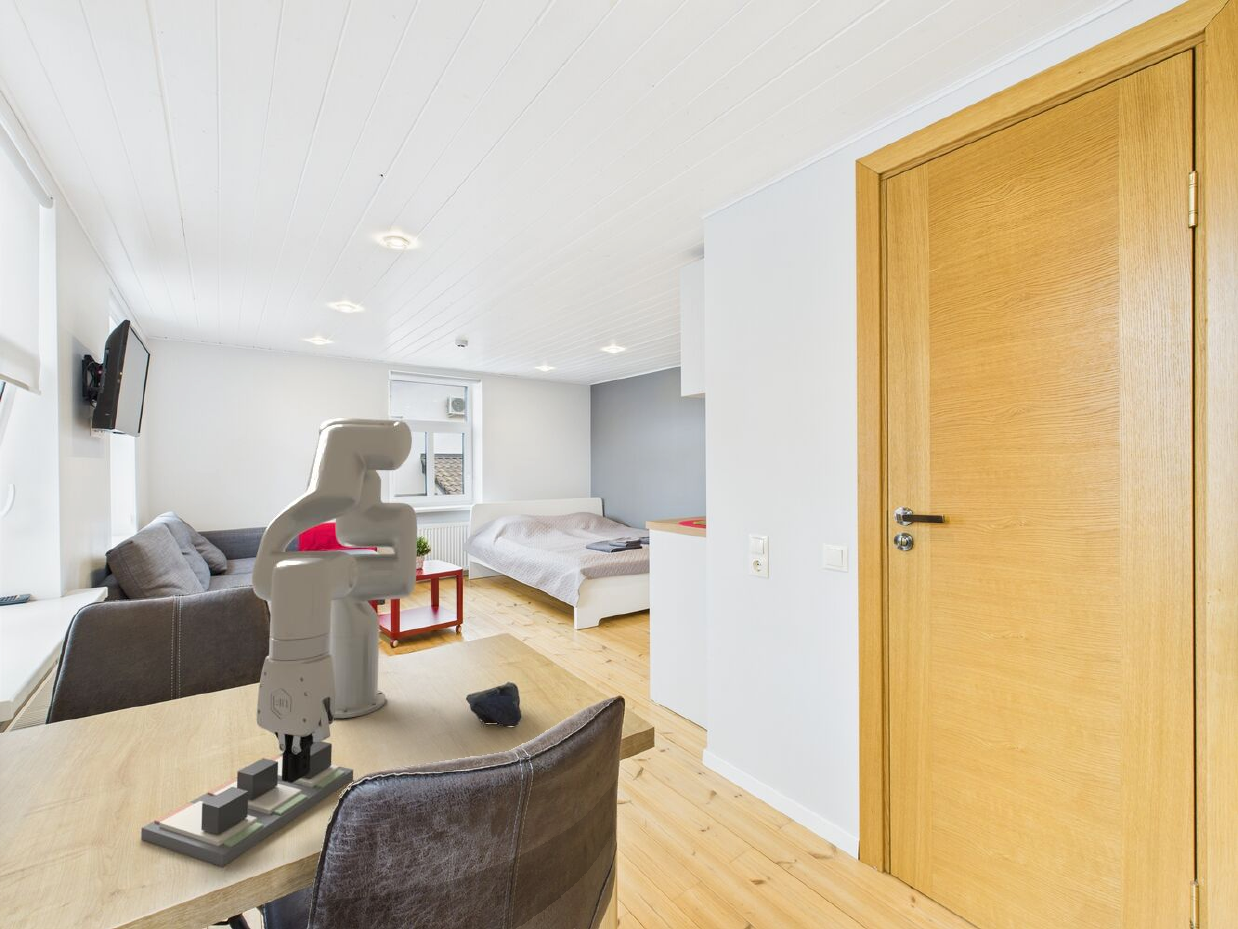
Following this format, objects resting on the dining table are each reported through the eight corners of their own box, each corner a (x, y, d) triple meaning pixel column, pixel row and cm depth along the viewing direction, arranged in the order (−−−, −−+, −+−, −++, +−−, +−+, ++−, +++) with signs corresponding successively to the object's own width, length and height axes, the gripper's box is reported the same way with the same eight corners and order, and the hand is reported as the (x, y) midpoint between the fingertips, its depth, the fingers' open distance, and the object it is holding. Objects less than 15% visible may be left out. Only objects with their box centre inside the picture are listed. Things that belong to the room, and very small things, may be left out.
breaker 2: (295, 775, 86) (295, 752, 86) (316, 762, 89) (317, 740, 89) (309, 778, 85) (310, 755, 85) (331, 765, 88) (331, 743, 88)
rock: (481, 743, 102) (533, 722, 106) (470, 697, 103) (521, 678, 108) (469, 736, 115) (515, 717, 119) (459, 695, 117) (505, 679, 121)
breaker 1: (201, 830, 72) (202, 803, 72) (231, 812, 76) (232, 786, 76) (217, 835, 71) (218, 807, 71) (247, 817, 75) (248, 791, 75)
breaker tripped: (236, 796, 80) (237, 771, 80) (262, 781, 84) (263, 758, 84) (252, 800, 79) (252, 775, 79) (277, 785, 83) (278, 761, 83)
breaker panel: (141, 839, 74) (141, 823, 74) (282, 761, 94) (282, 749, 94) (222, 866, 69) (222, 850, 69) (353, 779, 89) (353, 766, 89)
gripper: (236, 647, 78) (231, 781, 77) (319, 660, 73) (314, 802, 72) (284, 634, 85) (279, 756, 84) (362, 644, 80) (358, 773, 80)
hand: (295, 777), depth 78 cm, fingers closed
